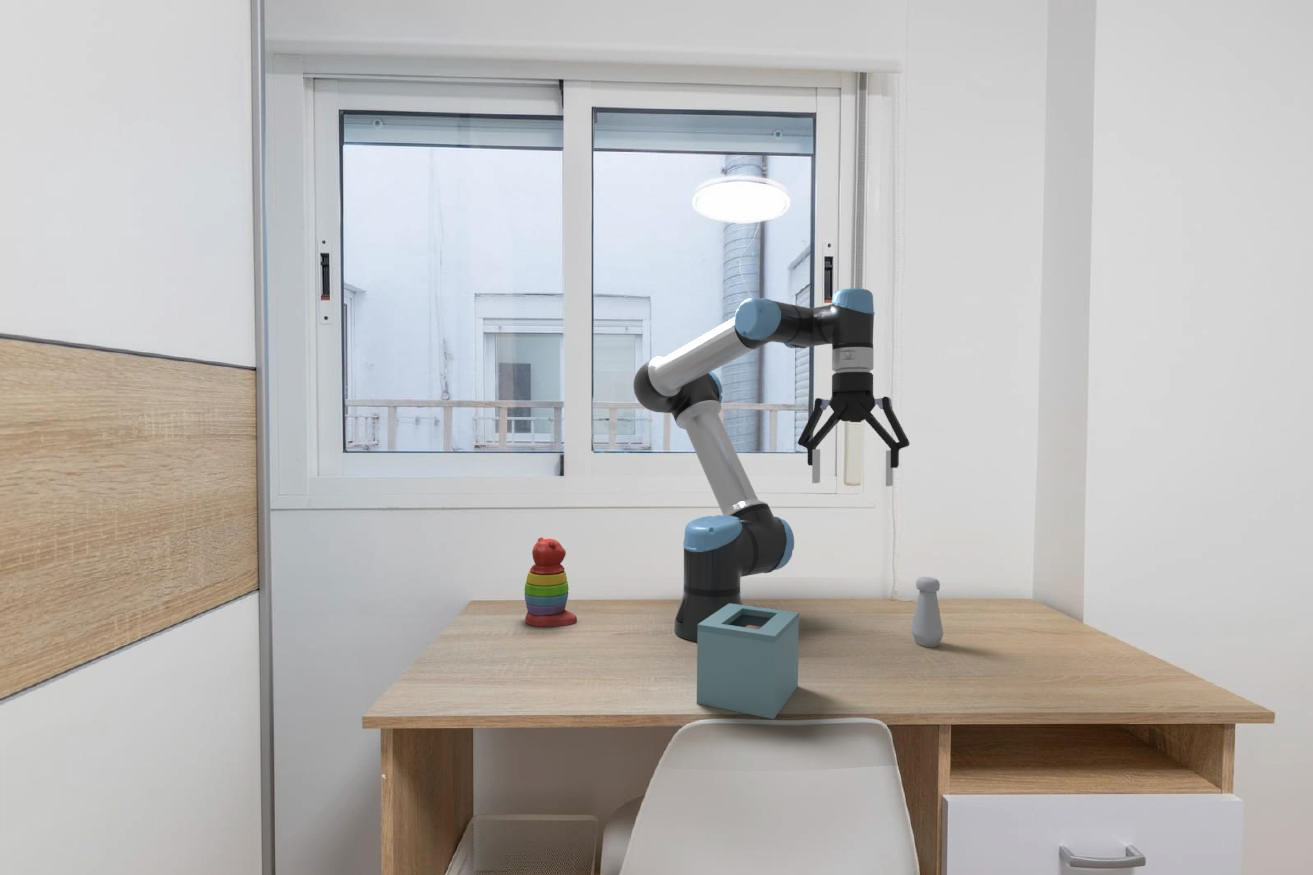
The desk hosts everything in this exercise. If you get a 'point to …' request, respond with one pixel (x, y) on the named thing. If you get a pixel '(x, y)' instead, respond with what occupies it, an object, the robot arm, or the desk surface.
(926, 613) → the salt shaker
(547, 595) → the stacking bear
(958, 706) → the desk surface
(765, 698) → the coin box
